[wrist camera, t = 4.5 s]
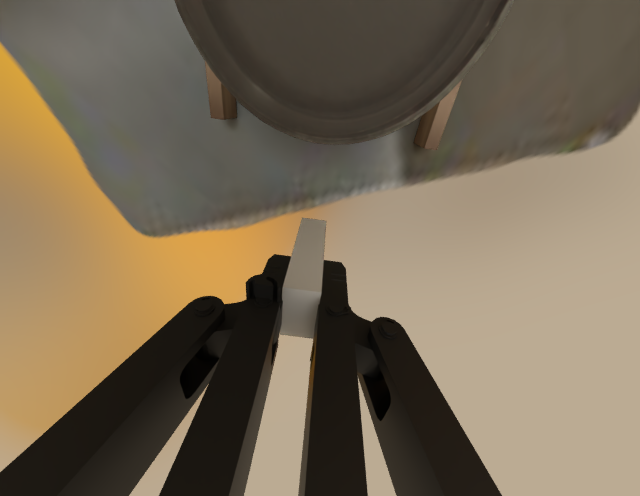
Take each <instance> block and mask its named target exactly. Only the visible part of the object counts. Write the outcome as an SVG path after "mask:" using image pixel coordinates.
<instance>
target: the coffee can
mask: <svg viewBox="0 0 640 496" xmlns="http://www.w3.org/2000/svg"><path fill="white" fill-rule="evenodd" d="M513 2H514V0H175V3H176V6H177V8H178V11H179V13H180V16H181V18H182V20H183V22H184V24H185V26H186V28H187V30H188V32H189V34H190V36H191V38H192V39H193V41H194V43H195V45H196V47H197V48H198V50H199V52H200V53H201V55H202V57H203V58H204V60H205V61H206V63H207V64H208V66H209V67H210V69H211V70H212V72H213V73H214V74H215V76H216V77H217V78H218V79H219V80H220V82H221V83H222V84H223V85H224V86H225V88H226V89H227V90H228V91H229V92H230V93H231V94H232V95H233V96H234V97H235V98H236V100H237V101H238V102H239V103H240V104H241V105H242V106H244V107H245V108H246V109H247V110H249V111H250V112H251V113H252V114H254V115H255V116H256V117H258V118H259V119H260V120H262V121H263V122H265V123H266V124H268V125H270V126H272V127H273V128H275V129H277V130H279V131H281V132H284V133H286V134H288V135H290V136H293V137H295V138H298V139H302V140H305V141H309V142H314V143H320V144H353V143H359V142H364V141H368V140H372V139H376V138H379V137H382V136H385V135H387V134H390V133H392V132H394V131H396V130H398V129H400V128H402V127H404V126H406V125H408V124H410V123H411V122H413V121H414V120H416V119H417V118H419V117H420V116H422V115H423V114H425V113H426V112H427V111H429V110H430V109H432V108H433V107H434V106H435V105H436V104H438V103H439V102H440V101H441V100H442V99H443V98H444V97H446V96H447V95H448V94H449V93H450V92H451V90H452V89H453V88H454V87H455V86H456V85H457V84H458V83H459V82H460V81H461V80H462V79H463V78H464V77H465V76H466V75H467V74H468V72H469V71H470V70H471V69H472V67H473V66H474V65H475V63H476V62H477V61H478V59H479V58H480V57H481V55H482V54H483V53H484V51H485V50H486V48H487V47H488V45H489V44H490V42H491V41H492V39H493V38H494V36H495V35H496V33H497V32H498V30H499V28H500V27H501V25H502V23H503V21H504V20H505V18H506V16H507V14H508V13H509V11H510V8H511V6H512V4H513Z"/></svg>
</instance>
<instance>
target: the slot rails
mask: <svg viewBox="0 0 640 496" xmlns="http://www.w3.org/2000/svg"><path fill="white" fill-rule="evenodd" d="M205 66H206V75H207V85H208V94H209V104H210V113H211V118H215V119H222V120H225V119H231V118H237V107H236V98H235V97H234V96H233V95H232V94H231V93H230V92H229V91H228V90H227V89H226V88H225V86H224V85H223V84H222V83H221V82H220V80H219V79H218V78H217V77H216V76H215V74H214V73H213V72H212V70H211V69H210V67H209V66H208V64H207V63H206V61H205ZM461 81H462V80H461ZM461 81H460V82H459V83H458V84H457V85H456V86H455V87H454V88H453V89H452V90H451V92H450V93H449V94H448V95H447V96H446V97H444V98H443V99H442V100H441V101H440V102H439V103H438V104H436V105H435V106H434V107H433V108H432V109H430V110H429V111H427V112H426V113H425V114H423V115H422V117H421V121H420V124H419V127H418V130H417V134H416V137H415V140H414V143H415V144H417V145H419V146H421V147H423V148H426V149H433V150H437V148H438V145H439V142H440V140H441V137H442V134H443V131H444V129H445V126H446V123H447V120H448V117H449V115H450V112H451V109H452V106H453V104H454V101H455V98H456V95H457V93H458V90H459V87H460V84H461Z"/></svg>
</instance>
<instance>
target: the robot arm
mask: <svg viewBox="0 0 640 496" xmlns="http://www.w3.org/2000/svg"><path fill="white" fill-rule="evenodd" d="M325 230H326V221H324V220H316V219H308V218H302V220H301V224H300V227H299V231H298V234H297V238H296V241H295V245H294V249H293V253H292V256H284V255H276V254H274V255H273V256H272V257H271V258H269V259H268V262H267V264H266V267H265V268H264V271H263V273H262V274H260V275H255V276H253V277H251V278H250V279H248V281H247V282H246V297H247V299H246V300H244V301H242V302H238V303H231V304H224V303H223V302H222V300H221V299H219V298H217V297H214V296H205V297H200V298H197V299H195V300H193V301H192V302H190V303H189V304H188V305H187V306H186V307H185V308H183V309H182V310H181V311H180V312H179V313H178V314H177V315H176V316H174V317H173V318H172V319H171V320H170V321H169V322H168V323H167V324H165V325H164V326H163V327H162V328H161V329H160V330H159V331H158V332H157V333H156V334H154V335H153V336H152V337H151V338H150V339H149V340H148V341H147V342H145V343H144V344H143V345H142V346H141V347H140V348H139V349H138V350H137V351H135V352H134V353H133V354H132V355H131V356H130V357H129V358H128V359H126V360H125V361H124V362H123V363H122V364H121V365H120V366H119V367H117V368H116V369H115V370H114V371H113V372H112V373H111V374H110V375H109V376H108V377H106V378H105V379H104V380H103V381H102V382H101V383H100V384H99V385H98V386H96V387H95V388H94V389H93V390H92V391H91V392H90V393H88V394H87V395H86V396H85V397H84V398H83V399H82V400H81V401H79V402H78V403H77V404H76V405H75V406H74V407H73V408H72V409H71V410H70V411H68V412H67V413H66V414H65V415H64V416H63V417H62V418H61V419H59V420H58V421H57V422H56V423H55V424H54V425H53V426H52V427H51V428H49V429H48V430H47V431H46V432H45V433H44V434H43V435H42V436H41V437H39V438H38V439H37V440H36V441H35V442H34V443H33V444H31V445H30V447H28V448H27V449H26V450H25V451H24V452H23V453H22V454H20V455H19V456H18V457H17V458H16V459H15V460H14V461H12V463H10V464H9V465H8V466H7V467H6V468H5V469H4V470H3V471H1V472H0V496H129V495H130V493H131V492H132V490H133V489H134V488H135V486H136V485H137V483H138V482H139V480H140V479H141V478H142V476H143V475H144V474H145V472H146V471H147V469H148V468H149V467H150V465H151V464H152V462H153V461H154V460H155V458H156V456H157V455H158V454H159V452H160V451H161V450H162V448H163V447H164V445H165V444H166V442H167V441H168V440H169V438H170V437H171V436H172V434H173V433H174V431H175V430H176V428H177V427H178V426H179V424H180V423H181V422H182V420H183V419H184V417H185V416H186V415H187V413H188V411H189V410H190V409H191V407H192V406H193V405H194V403H195V402H196V400H197V399H198V398H199V396H200V395H201V393H202V392H203V391H204V389H205V388H206V386H207V385H208V384H209V385H208V387H207V389H206V391H205V394H204V396H203V398H202V401H201V403H200V405H199V407H198V409H197V411H196V414H195V416H194V418H193V420H192V423H191V425H190V427H189V429H188V432H187V434H186V436H185V439H184V441H183V443H182V445H181V448H180V450H179V452H178V454H177V456H176V459H175V461H174V463H173V465H172V468H171V470H170V472H169V474H168V477H167V479H166V481H165V483H164V486H163V488H162V490H161V493H160V495H159V496H244V492H245V488H246V484H247V479H248V475H249V471H250V466H251V462H252V457H253V453H254V449H255V444H256V440H257V436H258V431H259V427H260V423H261V418H262V413H263V409H264V405H265V401H266V396H267V392H268V387H269V383H270V379H271V374H272V370H273V366H274V361H275V357H276V352H277V348H278V338H279V333H280V334H281V335H289V336H297V337H305V338H313V346H312V352H311V358H310V361H311V365H310V375H309V388H308V397H307V398H308V399H307V408H306V419H305V429H304V440H303V451H302V462H301V473H300V485H299V494H298V496H368V494H367V483H366V470H365V459H364V447H363V435H362V423H361V411H360V400H359V388H358V378H359V381H360V384H361V387H362V390H363V393H364V397H365V400H366V403H367V406H368V409H369V412H370V415H371V418H372V421H373V424H374V427H375V431H376V434H377V437H378V440H379V443H380V446H381V449H382V452H383V455H384V458H385V461H386V465H387V467H388V471H389V474H390V477H391V480H392V483H393V486H394V489H395V492H396V495H397V496H502V495H501V493H500V491H499V490H498V488H497V486H496V485H495V483H494V481H493V480H492V478H491V476H490V474H489V473H488V471H487V469H486V468H485V466H484V464H483V463H482V461H481V459H480V457H479V456H478V454H477V452H476V451H475V449H474V447H473V446H472V444H471V442H470V440H469V439H468V437H467V435H466V434H465V432H464V430H463V429H462V427H461V426H460V423H459V422H458V420H457V418H456V417H455V415H454V413H453V411H452V410H451V408H450V406H449V405H448V403H447V401H446V400H445V398H444V396H443V394H442V393H441V391H440V389H439V388H438V386H437V384H436V382H435V381H434V379H433V377H432V376H431V374H430V372H429V371H428V369H427V367H426V366H425V364H424V362H423V360H422V359H421V357H420V355H419V354H418V352H417V350H416V348H415V347H414V345H413V343H412V342H411V340H410V338H409V337H408V335H407V333H406V331H405V330H404V328H403V327H402V326H401V325H400V324H399V323H398V322H396V321H395V320H392V319H390V318H387V317H380V318H376V319H375V320H373V321H372V322H371V321H368V320H365V319H363V318H361V317H359V316H357V315H356V314H355V313H353V311H352V310H351V307H350V306H349V304H348V293H347V282H346V269H345V267H344V266H343V264H342V263H341V262H333V261H327V260H324V246H325V245H324V244H325ZM357 375H358V376H357Z"/></svg>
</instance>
